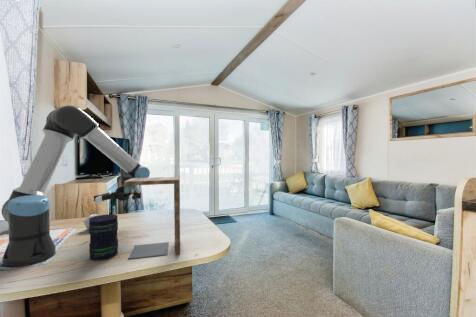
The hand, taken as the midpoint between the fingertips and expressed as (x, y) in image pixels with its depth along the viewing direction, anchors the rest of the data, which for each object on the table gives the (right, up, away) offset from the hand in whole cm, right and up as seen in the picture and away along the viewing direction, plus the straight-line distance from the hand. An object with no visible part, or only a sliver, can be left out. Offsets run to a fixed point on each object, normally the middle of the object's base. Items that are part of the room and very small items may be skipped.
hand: (113, 200), depth 101 cm
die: (-22, -20, +22) cm, 37 cm away
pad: (+19, -19, -7) cm, 28 cm away
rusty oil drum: (+3, -20, -11) cm, 23 cm away
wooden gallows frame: (+21, -19, -6) cm, 29 cm away
